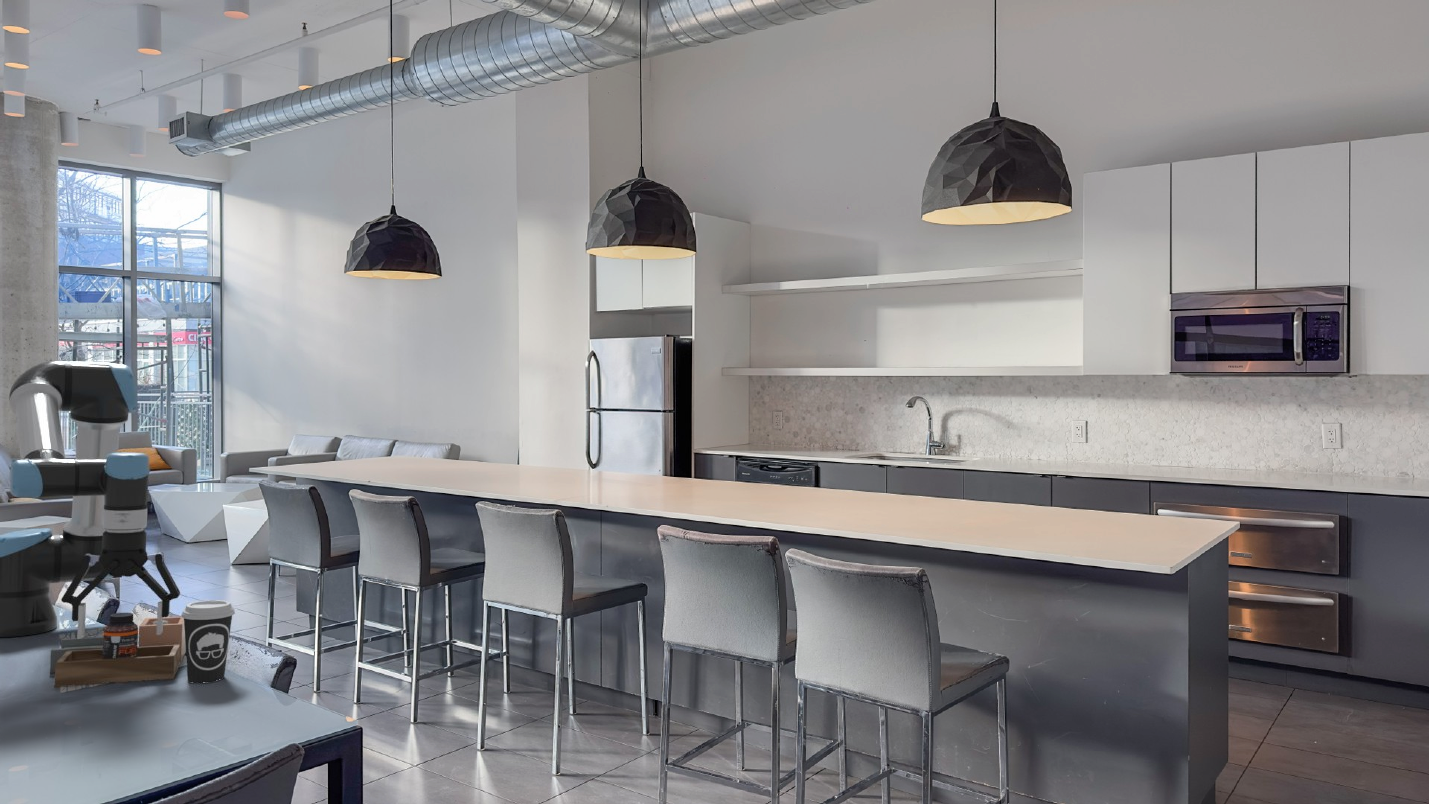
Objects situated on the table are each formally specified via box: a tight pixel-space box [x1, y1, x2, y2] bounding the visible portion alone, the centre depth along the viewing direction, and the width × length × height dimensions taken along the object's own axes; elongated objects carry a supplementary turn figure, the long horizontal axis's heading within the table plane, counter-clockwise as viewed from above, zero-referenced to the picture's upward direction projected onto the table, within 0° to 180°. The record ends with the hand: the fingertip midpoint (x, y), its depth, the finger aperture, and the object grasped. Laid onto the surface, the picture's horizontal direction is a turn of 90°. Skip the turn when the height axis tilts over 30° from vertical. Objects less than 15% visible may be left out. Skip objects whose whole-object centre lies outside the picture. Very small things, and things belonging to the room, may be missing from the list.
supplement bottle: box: [102, 612, 139, 659], centre depth 193 cm, size 6×6×11 cm
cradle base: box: [49, 636, 103, 674], centre depth 200 cm, size 10×10×4 cm
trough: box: [54, 644, 181, 688], centre depth 193 cm, size 10×20×4 cm, turn 113°
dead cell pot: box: [137, 616, 186, 663], centre depth 207 cm, size 8×8×8 cm
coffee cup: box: [180, 599, 236, 684], centre depth 193 cm, size 10×10×15 cm
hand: (120, 635), depth 194 cm, fingers open, 13 cm apart
